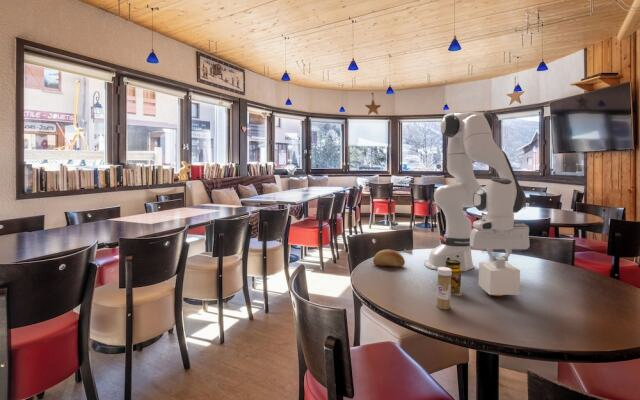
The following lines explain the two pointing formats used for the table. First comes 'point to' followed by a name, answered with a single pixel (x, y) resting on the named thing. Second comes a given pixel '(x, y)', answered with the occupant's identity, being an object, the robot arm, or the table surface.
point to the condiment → (455, 276)
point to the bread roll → (388, 258)
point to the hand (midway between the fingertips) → (498, 261)
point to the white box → (499, 277)
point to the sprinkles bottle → (444, 287)
